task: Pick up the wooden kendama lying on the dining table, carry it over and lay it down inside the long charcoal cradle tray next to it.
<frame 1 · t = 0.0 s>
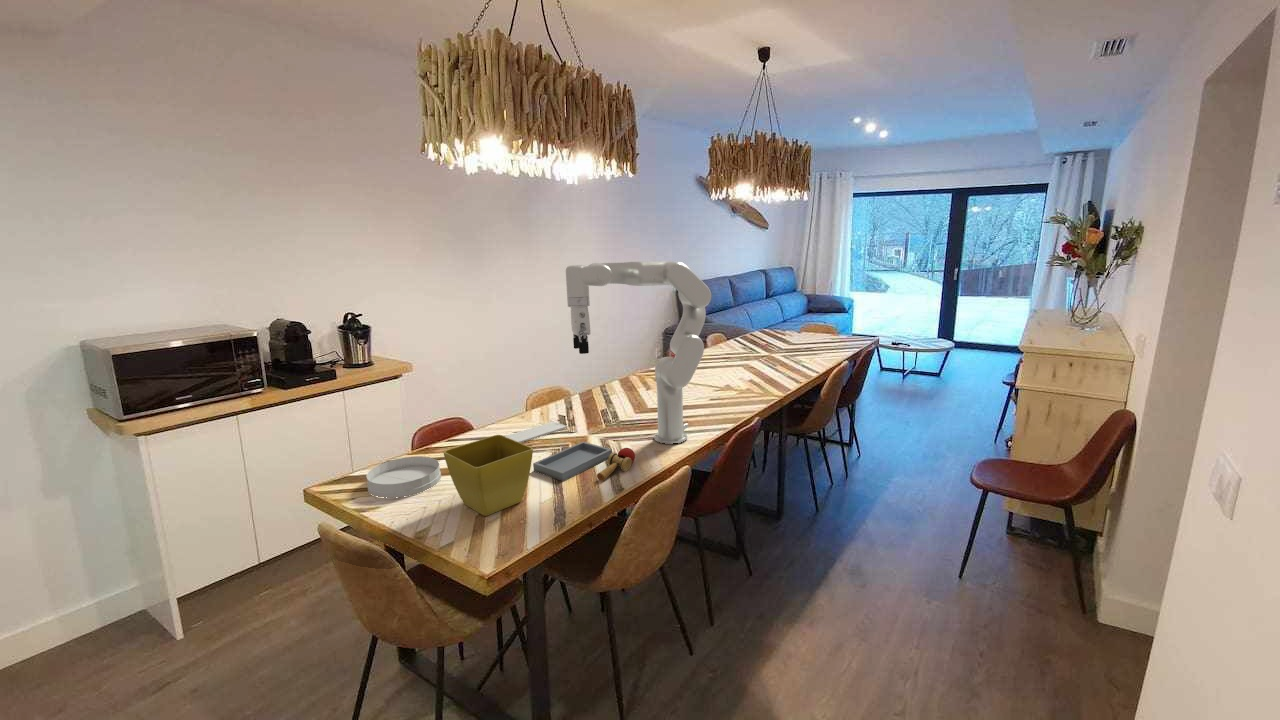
hand: (581, 350, 194), 37 cm above the table, tool pointing down, fingers open, 9 cm apart
baseboard: (526, 436, 221), on the table
dish: (405, 484, 181), on the table
cradle tray: (573, 463, 192), on the table
kendama: (616, 472, 185), on the table
flower pot: (493, 503, 166), on the table
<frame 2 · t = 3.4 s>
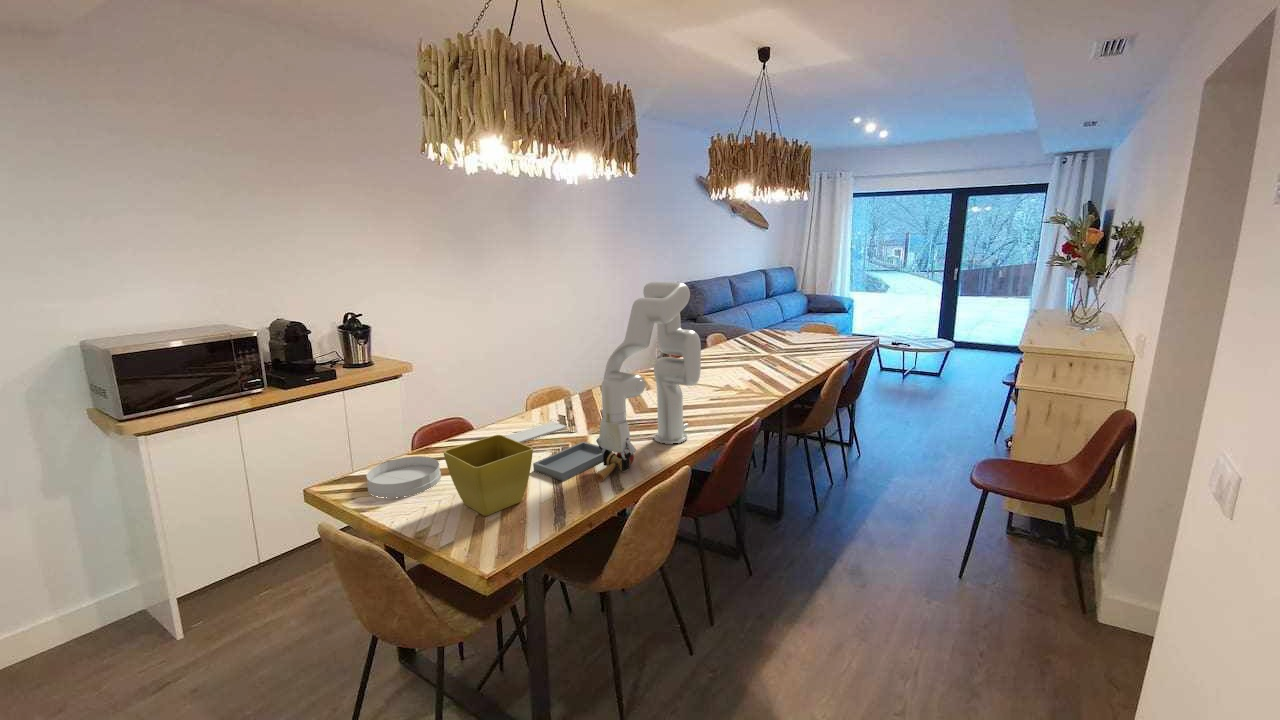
hand: (616, 466, 185), 1 cm above the table, tool pointing down, fingers closed on kendama, 7 cm apart
kendama: (615, 472, 184), on the table, touching gripper
everything else where it was.
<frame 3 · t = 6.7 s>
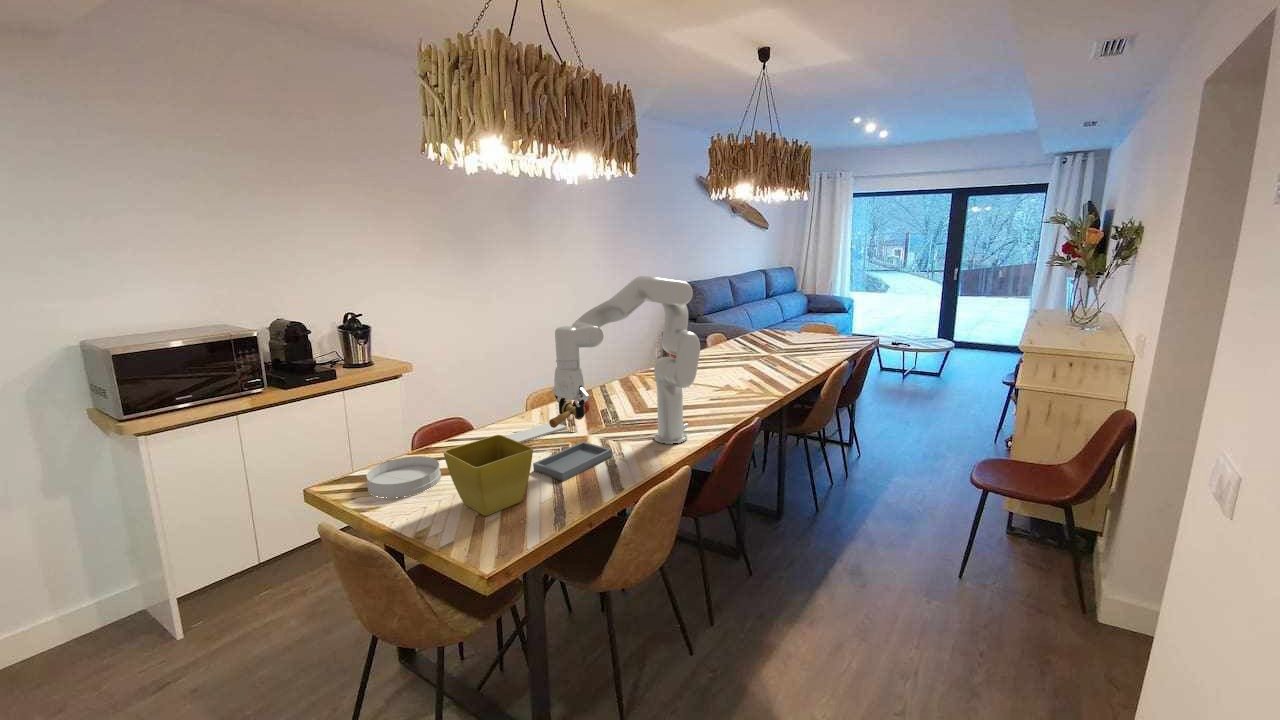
hand: (571, 414, 188), 18 cm above the table, tool pointing down, fingers closed on kendama, 7 cm apart
kendama: (570, 420, 187), point 16 cm above the table, touching gripper
everything else where it was.
when the fingers open (4 cm above the table, at t = 9.8 s): kendama drops 2 cm, resting on cradle tray.
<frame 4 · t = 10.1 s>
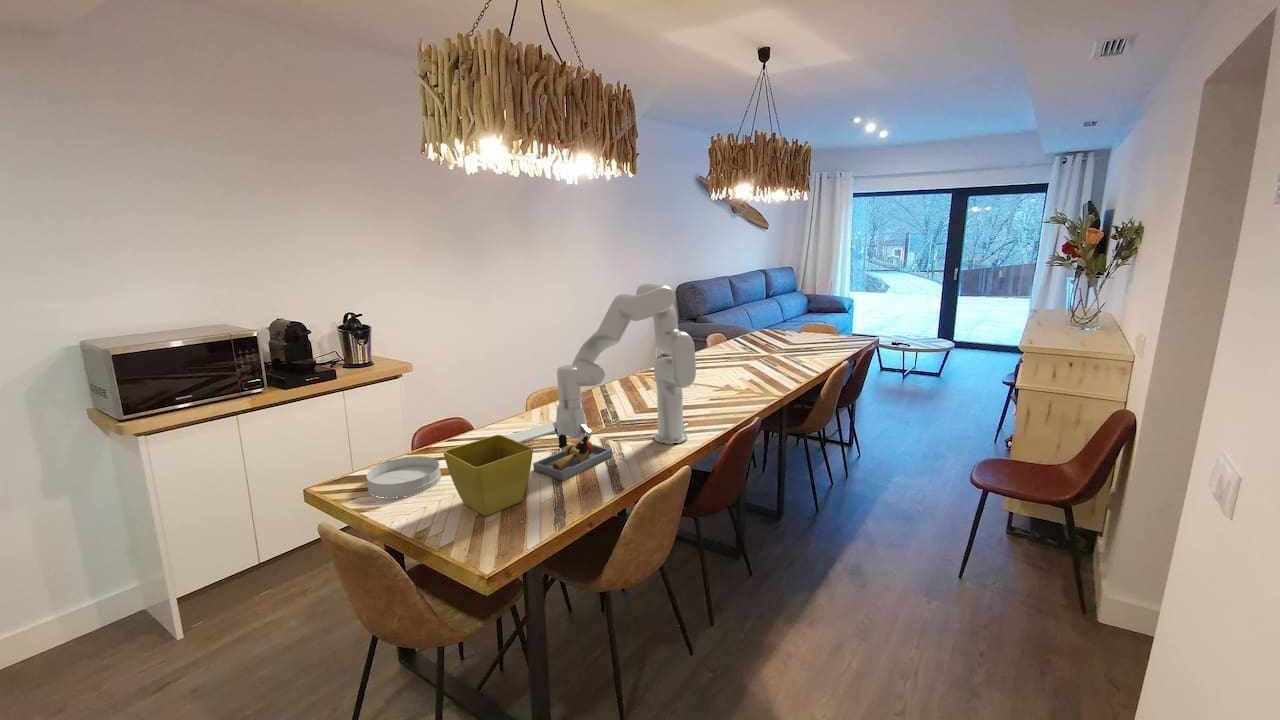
hand: (573, 450, 190), 5 cm above the table, tool pointing down, fingers open, 9 cm apart
kendama: (573, 463, 191), point 1 cm above the table, touching cradle tray
everything else where it was.
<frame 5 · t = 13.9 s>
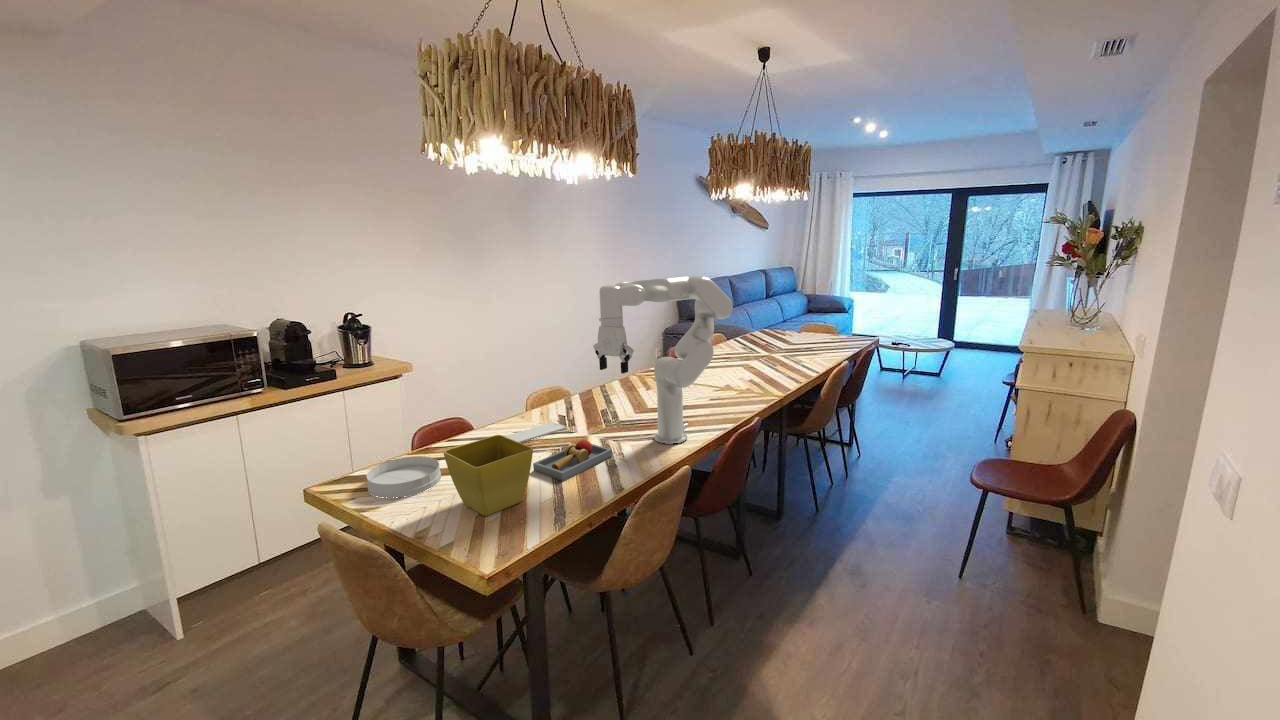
hand: (613, 370, 193), 30 cm above the table, tool pointing down, fingers open, 9 cm apart
nothing on the table moved.
at the end: kendama inside the target area on the cradle tray (1.1 cm from its centre), point 0.6 cm above the cradle tray's base; the gripper is holding nothing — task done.
